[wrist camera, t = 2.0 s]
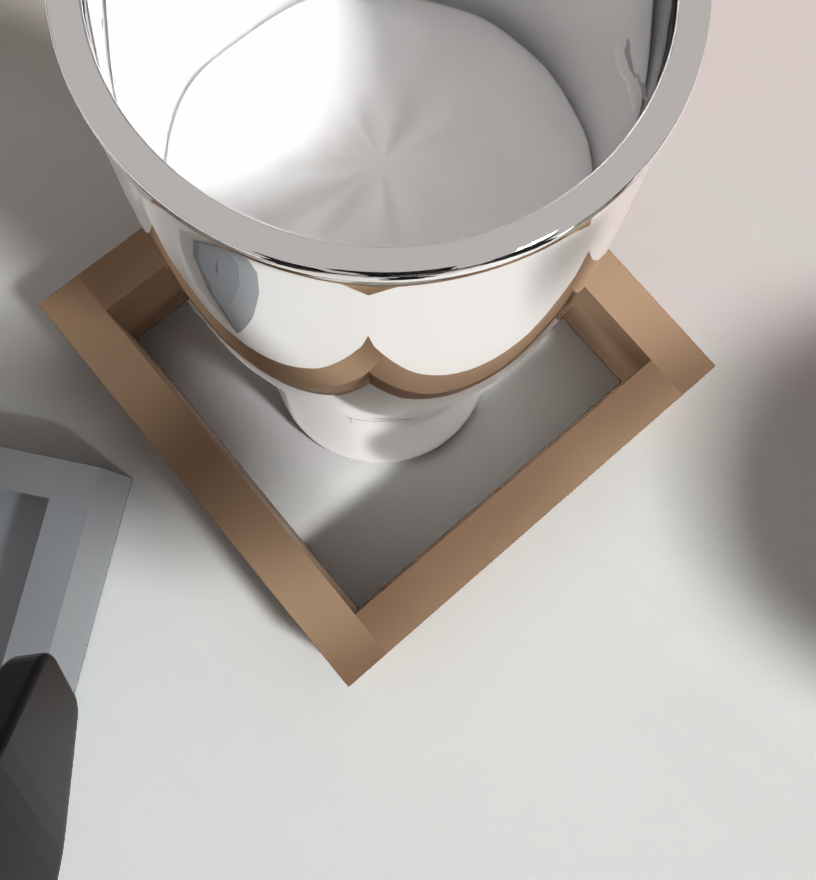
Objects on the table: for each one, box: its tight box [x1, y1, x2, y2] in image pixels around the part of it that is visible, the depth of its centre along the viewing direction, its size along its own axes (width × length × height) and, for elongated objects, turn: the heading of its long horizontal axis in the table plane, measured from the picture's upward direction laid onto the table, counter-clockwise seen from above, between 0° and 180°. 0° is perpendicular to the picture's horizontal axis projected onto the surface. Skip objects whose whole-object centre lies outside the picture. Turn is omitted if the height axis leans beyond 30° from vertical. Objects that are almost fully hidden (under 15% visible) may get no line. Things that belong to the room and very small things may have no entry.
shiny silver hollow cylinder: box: [45, 0, 712, 463], centre depth 15 cm, size 7×7×15 cm
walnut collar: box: [39, 228, 715, 687], centre depth 21 cm, size 12×12×2 cm
